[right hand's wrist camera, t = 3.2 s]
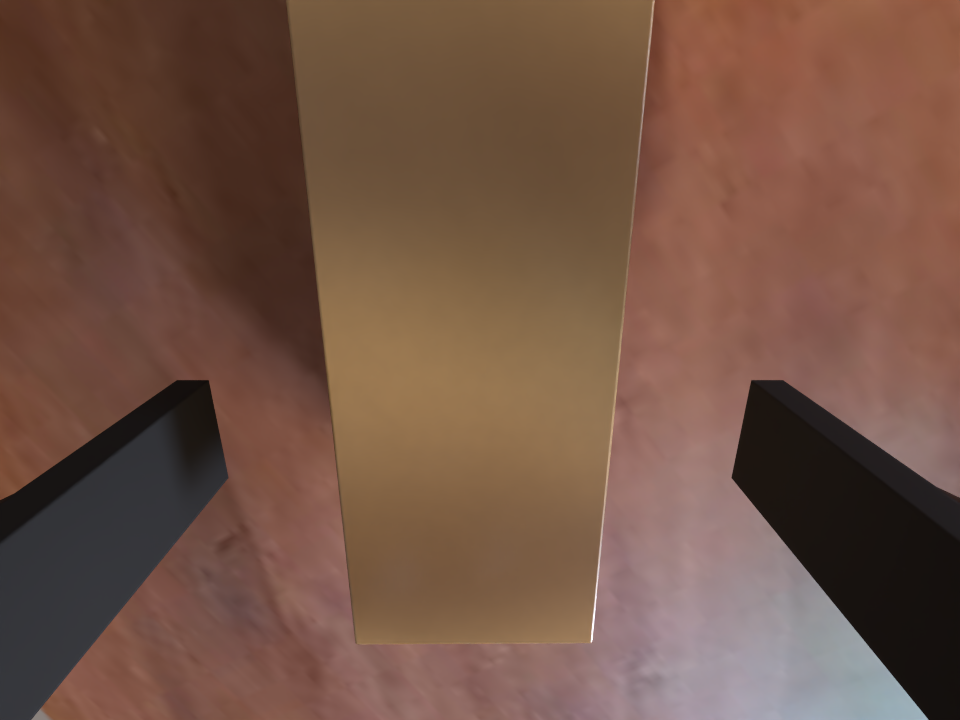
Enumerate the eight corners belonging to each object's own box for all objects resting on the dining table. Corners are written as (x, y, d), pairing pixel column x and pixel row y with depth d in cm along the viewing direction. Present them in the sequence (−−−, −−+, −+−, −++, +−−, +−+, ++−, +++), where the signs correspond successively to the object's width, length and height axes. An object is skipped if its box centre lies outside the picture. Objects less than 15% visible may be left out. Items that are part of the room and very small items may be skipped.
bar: (547, 464, 20) (592, 644, 12) (402, 464, 20) (354, 645, 12) (589, -353, 12) (778, -1244, 5) (354, -355, 12) (147, -1255, 5)
